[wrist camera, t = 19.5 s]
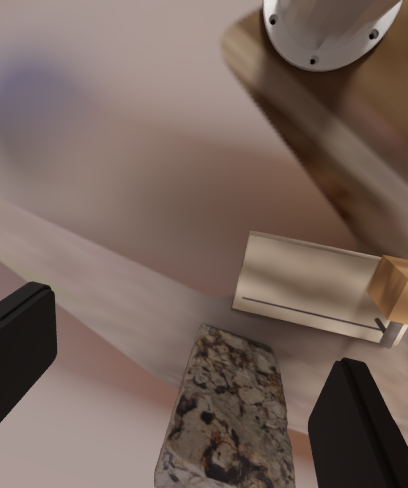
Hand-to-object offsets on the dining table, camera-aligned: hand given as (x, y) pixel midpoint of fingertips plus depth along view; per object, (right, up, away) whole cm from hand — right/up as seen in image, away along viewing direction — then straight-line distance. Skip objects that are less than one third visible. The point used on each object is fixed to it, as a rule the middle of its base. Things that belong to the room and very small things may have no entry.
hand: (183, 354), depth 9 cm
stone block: (+6, -12, +35) cm, 37 cm away
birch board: (+16, -2, +29) cm, 33 cm away
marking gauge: (+23, -2, +26) cm, 34 cm away
